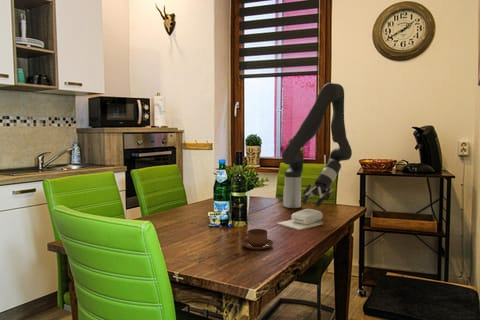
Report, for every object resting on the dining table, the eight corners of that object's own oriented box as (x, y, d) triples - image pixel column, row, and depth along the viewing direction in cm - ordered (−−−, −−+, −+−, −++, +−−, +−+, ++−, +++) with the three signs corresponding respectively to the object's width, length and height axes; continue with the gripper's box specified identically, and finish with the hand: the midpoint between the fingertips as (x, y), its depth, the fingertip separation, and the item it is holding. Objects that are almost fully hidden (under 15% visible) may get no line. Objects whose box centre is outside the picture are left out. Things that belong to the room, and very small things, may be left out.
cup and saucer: (251, 253, 147) (251, 237, 146) (236, 245, 157) (236, 229, 157) (279, 249, 152) (279, 233, 152) (263, 241, 163) (263, 226, 162)
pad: (277, 223, 190) (277, 221, 190) (300, 218, 200) (300, 216, 199) (298, 230, 179) (298, 227, 179) (322, 224, 189) (322, 221, 188)
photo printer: (306, 215, 199) (289, 222, 191) (305, 207, 199) (288, 213, 191) (323, 219, 192) (306, 226, 184) (322, 211, 191) (305, 217, 183)
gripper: (311, 172, 202) (295, 197, 196) (334, 175, 191) (317, 201, 185) (318, 181, 206) (302, 206, 200) (341, 185, 195) (325, 211, 189)
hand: (309, 204), depth 192 cm, fingers open, 8 cm apart
